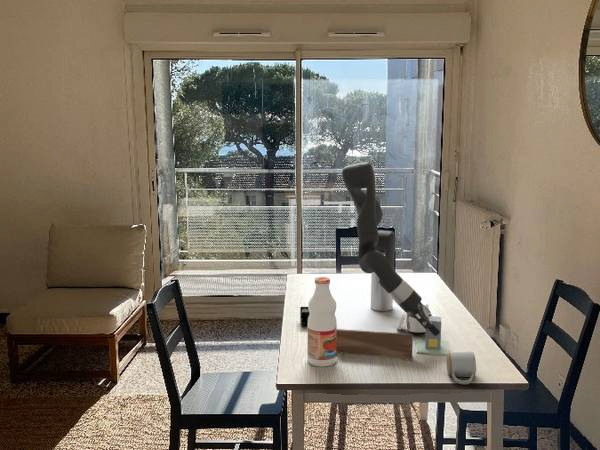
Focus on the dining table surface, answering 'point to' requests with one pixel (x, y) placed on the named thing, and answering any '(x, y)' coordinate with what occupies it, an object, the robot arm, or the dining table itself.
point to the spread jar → (413, 322)
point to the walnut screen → (374, 343)
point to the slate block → (430, 339)
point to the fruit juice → (322, 325)
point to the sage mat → (422, 350)
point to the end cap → (304, 316)
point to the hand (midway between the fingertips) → (437, 329)
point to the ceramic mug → (461, 366)
